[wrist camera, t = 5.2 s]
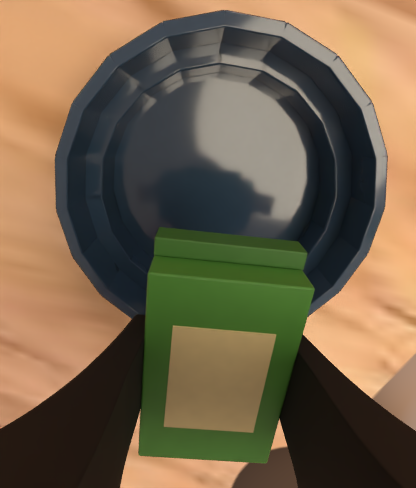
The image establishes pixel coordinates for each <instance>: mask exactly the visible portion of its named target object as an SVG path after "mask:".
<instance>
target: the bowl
mask: <svg viewBox="0 0 416 488" xmlns="http://www.w3.org/2000/svg"><path fill="white" fill-rule="evenodd" d="M371 102H372V101H371V99H370V98H369V97H368V95H367V94H366V93H365V91H364V90H363V88H362V87H361V86H360V84H359V83H358V82H357V80H356V79H355V78H354V76H353V75H352V73H351V72H350V71H349V69H348V68H347V67H346V65H345V64H344V62H343V61H342V60H341V58H340V57H339V56H337V54H336V53H334V52H333V51H331V50H330V49H328V48H327V47H325V46H324V45H322V44H320V43H319V42H317V41H316V40H314V39H313V38H311V37H310V36H308V35H306V34H305V33H303V32H302V31H300V30H299V29H297V28H296V27H294V26H292V25H291V24H289V23H286V22H285V21H280V20H275V19H270V18H265V17H260V16H254V15H249V14H244V13H239V12H234V11H229V10H220V11H215V12H210V13H204V14H199V15H194V16H188V17H183V18H178V19H172V20H167V21H163V23H162V22H161V23H159V24H157V25H156V26H154V27H152V28H151V29H149V30H148V31H146V32H144V33H143V34H141V35H140V36H138V37H136V38H135V39H133V40H132V41H130V42H128V43H127V44H125V45H124V46H122V47H120V48H119V49H117V50H115V51H114V52H112V53H111V54H110V56H107V58H106V59H105V60H104V62H103V63H102V64H101V66H100V67H99V68H98V69H97V71H96V72H95V73H94V75H93V76H92V77H91V79H90V80H89V81H88V82H87V84H86V85H85V86H84V88H83V89H82V90H81V92H80V93H79V94H78V95H77V97H76V98H75V99H74V101H73V103H72V104H71V108H70V111H69V114H68V117H67V120H66V123H65V126H64V129H63V133H62V136H61V139H60V142H59V145H58V148H57V151H56V154H55V189H56V212H57V214H58V217H59V220H60V223H61V226H62V229H63V232H64V234H65V237H66V240H67V243H68V246H69V249H70V251H71V254H72V256H73V259H74V260H75V261H76V263H77V264H78V265H79V267H80V268H81V269H82V271H83V272H84V273H85V275H86V276H87V277H88V279H89V280H90V281H91V283H92V284H93V286H94V287H95V288H96V290H97V291H98V292H99V294H101V296H103V297H104V298H105V299H106V300H108V301H109V302H110V303H112V304H113V305H114V306H116V307H117V308H118V309H120V310H121V311H122V312H124V313H125V314H126V315H128V316H129V317H130V318H133V317H134V316H135V315H137V314H140V315H146V296H147V276H148V271H149V269H150V266H151V263H152V260H153V258H154V240H155V236H156V234H157V231H158V229H159V227H165V228H175V229H184V230H194V231H203V232H213V233H222V234H232V235H241V236H251V237H260V238H270V239H279V240H289V241H298V242H299V243H300V244H301V245H302V247H303V248H304V249H305V250H306V252H307V258H306V262H305V266H304V269H303V270H302V271H303V272H304V274H305V275H306V277H307V278H308V279H309V281H310V282H311V284H312V285H313V287H314V289H315V291H314V294H313V298H312V301H311V305H310V309H309V312H308V316H309V315H311V314H312V313H313V312H315V311H316V310H317V309H318V308H320V307H321V306H322V305H324V304H325V303H326V302H327V301H329V300H330V299H331V298H333V297H334V296H335V295H336V294H338V293H339V291H341V289H342V288H343V287H344V285H345V284H346V283H347V281H348V280H349V279H350V277H351V276H352V275H353V273H354V272H355V271H356V269H357V268H358V267H359V265H360V264H361V263H362V261H363V260H364V258H365V257H366V256H367V253H368V252H369V250H370V247H371V244H372V242H373V239H374V236H375V233H376V231H377V228H378V225H379V223H380V220H381V217H382V214H383V212H384V209H385V208H384V207H385V200H386V180H387V159H388V156H387V151H386V147H385V144H384V140H383V137H382V133H381V130H380V126H379V123H378V119H377V116H376V112H375V109H374V105H373V103H371ZM308 316H307V317H308Z"/></svg>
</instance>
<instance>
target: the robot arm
mask: <svg viewBox="0 0 416 488" xmlns="http://www.w3.org/2000/svg"><path fill="white" fill-rule="evenodd" d="M144 334H145V315H140V314H137V315H135V316H134V317H133V318H132V320H131V321H130V322H129V324H128V325H127V326H126V327H125V328H124V330H123V331H122V332H121V333H120V334H119V335H118V336H117V338H116V339H115V340H114V341H113V342H112V343H111V344H110V345H109V346H108V347H107V348H106V349H105V350H104V351H103V352H102V353H101V354H100V355H99V356H98V357H97V358H96V359H95V360H94V361H93V362H92V363H91V364H90V365H89V366H87V367H86V368H85V369H84V370H83V371H82V372H81V373H80V374H78V375H77V376H76V377H75V378H74V379H72V380H71V381H70V382H69V383H68V384H66V385H65V386H64V387H62V388H61V389H60V390H59V391H57V392H56V393H55V394H53V395H52V396H50V397H49V398H48V399H46V400H45V401H44V402H42V403H41V404H39V405H38V406H36V407H35V408H34V409H32V410H31V411H29V412H28V413H26V414H25V415H23V416H21V417H20V418H18V419H16V420H15V421H13V422H12V423H10V424H8V425H7V426H5V427H3V428H2V429H0V488H120V484H121V479H122V474H123V469H124V465H125V461H126V457H127V453H128V450H129V446H130V443H131V439H132V436H133V433H134V429H135V426H136V422H137V419H138V415H139V412H140V409H141V393H142V373H143V354H144ZM279 418H280V422H281V425H282V429H283V432H284V436H285V439H286V442H287V446H288V449H289V453H290V456H291V459H292V463H293V467H294V471H295V475H296V478H297V484H298V488H416V431H415V430H413V429H412V428H411V427H409V426H408V425H406V424H405V423H403V422H402V421H400V420H399V419H398V418H396V417H395V416H394V415H392V414H391V413H389V412H388V411H387V410H386V409H384V408H383V407H382V406H381V405H379V404H378V403H377V402H375V401H374V400H373V399H372V398H370V397H369V396H368V395H367V394H365V393H364V392H363V391H362V390H361V389H360V388H358V387H357V386H356V385H355V384H354V383H353V382H352V381H350V380H349V379H348V378H347V377H346V376H345V375H344V374H343V373H342V372H340V371H339V370H338V369H337V368H336V367H335V366H334V365H333V364H332V363H331V362H330V361H329V360H328V359H327V358H326V357H325V356H324V355H323V354H322V353H321V352H320V351H319V350H318V349H317V348H316V347H315V346H314V345H313V344H312V343H311V342H310V341H309V340H308V339H307V338H306V337H305V336H304V335H303V334H302V338H301V341H300V345H299V349H298V352H297V356H296V359H295V363H294V367H293V370H292V374H291V378H290V381H289V385H288V388H287V392H286V396H285V399H284V403H283V406H282V410H281V414H280V417H279Z"/></svg>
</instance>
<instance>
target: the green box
mask: <svg viewBox="0 0 416 488" xmlns="http://www.w3.org/2000/svg"><path fill="white" fill-rule="evenodd" d="M306 258H307V252H306V250H305V249H304V248H303V247H302V245H301V244H300V243H299V242H298V241H289V240H279V239H270V238H260V237H251V236H241V235H232V234H222V233H213V232H203V231H194V230H184V229H175V228H165V227H159V229H158V231H157V234H156V236H155V240H154V258H153V260H152V263H151V266H150V269H149V271H148V276H147V296H146V315H145V334H144V354H143V373H142V393H141V412H140V431H139V451H138V453H139V455H140V456H152V457H168V458H185V459H201V460H218V461H234V462H250V463H267V461H268V457H269V453H270V450H271V446H272V443H273V439H274V435H275V432H276V428H277V425H278V421H279V417H280V414H281V410H282V406H283V403H284V399H285V396H286V392H287V388H288V385H289V381H290V378H291V374H292V370H293V367H294V363H295V359H296V356H297V352H298V349H299V345H300V341H301V338H302V334H303V330H304V327H305V323H306V320H307V316H308V312H309V309H310V305H311V301H312V298H313V294H314V291H315V289H314V287H313V285H312V284H311V282H310V281H309V279H308V278H307V277H306V275H305V274H304V272H303V271H302V270H303V269H304V266H305V262H306Z"/></svg>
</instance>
